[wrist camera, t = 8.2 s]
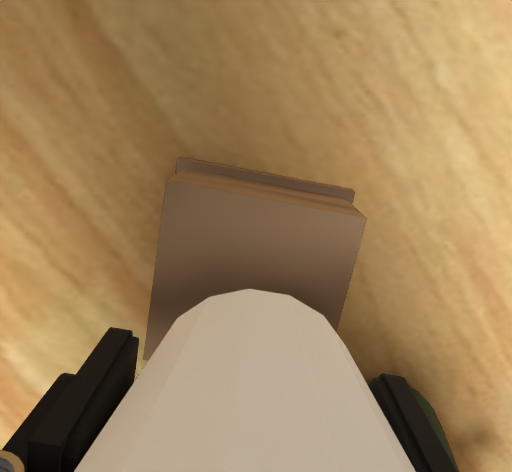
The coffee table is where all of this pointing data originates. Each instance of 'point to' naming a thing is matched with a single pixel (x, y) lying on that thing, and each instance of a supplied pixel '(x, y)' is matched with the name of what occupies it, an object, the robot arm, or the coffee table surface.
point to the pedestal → (250, 241)
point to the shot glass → (248, 398)
